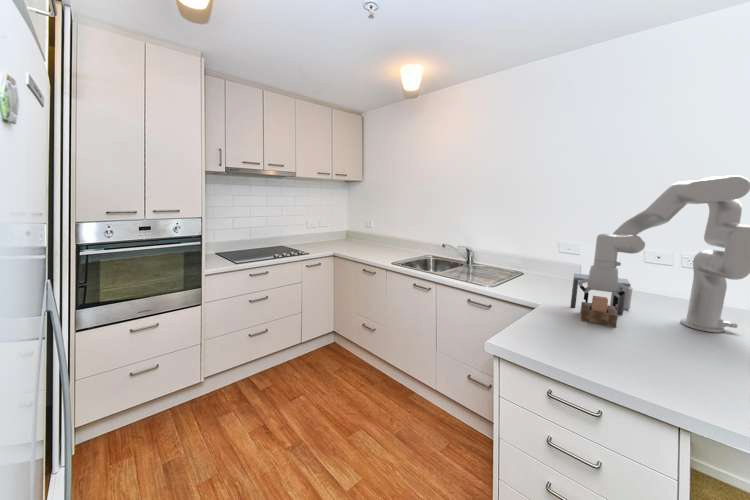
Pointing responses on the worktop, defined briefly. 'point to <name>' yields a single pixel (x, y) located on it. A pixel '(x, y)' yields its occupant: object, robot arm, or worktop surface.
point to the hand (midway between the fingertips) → (599, 303)
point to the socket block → (598, 315)
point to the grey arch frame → (581, 277)
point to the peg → (599, 304)
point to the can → (627, 298)
